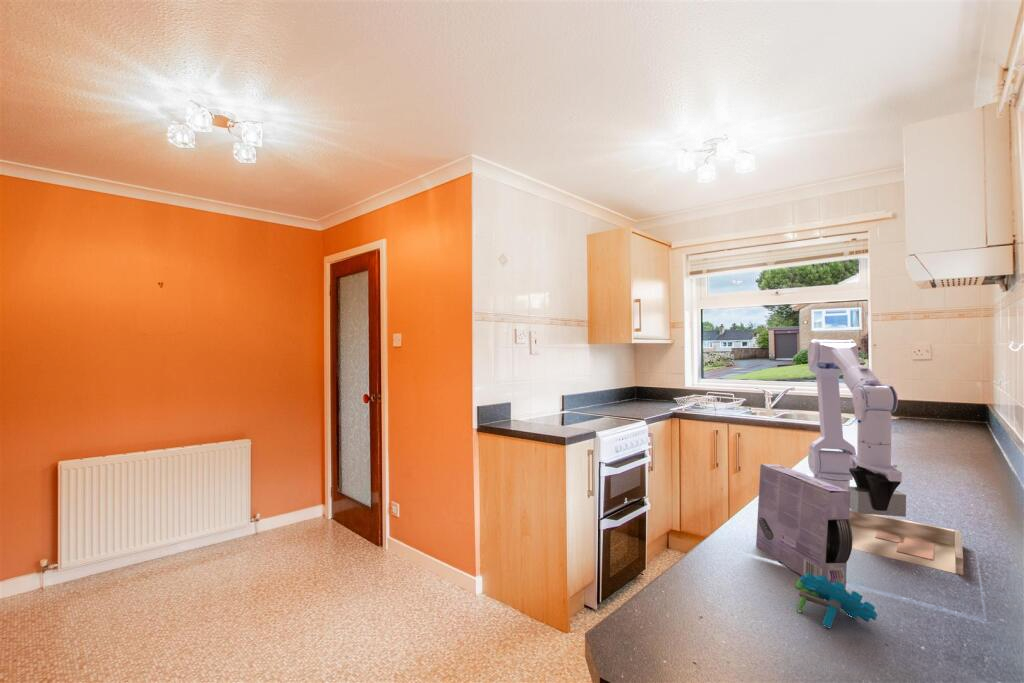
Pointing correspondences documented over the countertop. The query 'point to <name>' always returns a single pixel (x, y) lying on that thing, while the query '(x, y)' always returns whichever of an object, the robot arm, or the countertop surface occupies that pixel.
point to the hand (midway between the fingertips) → (873, 506)
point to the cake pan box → (804, 522)
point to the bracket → (864, 504)
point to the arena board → (908, 541)
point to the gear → (832, 598)
